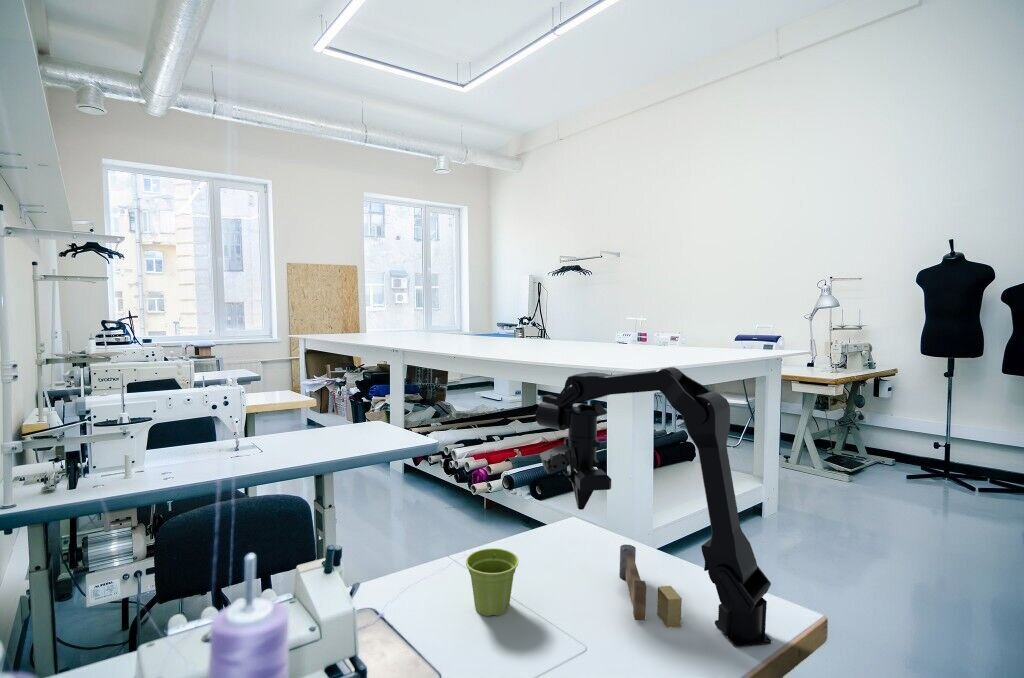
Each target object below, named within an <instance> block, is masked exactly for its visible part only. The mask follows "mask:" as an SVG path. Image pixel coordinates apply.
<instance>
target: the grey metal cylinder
mask: <svg viewBox="0 0 1024 678" xmlns="http://www.w3.org/2000/svg"><path fill="white" fill-rule="evenodd" d="M619 547H620V548H619V579H621V580H622V581H624V580H625V581H626V554H633V557H634V560H635V561H636V558H637V557H636V556H637V555H636V550H637V548H636V547H635V546H634V545H631V544H622V545H620V546H619Z"/></svg>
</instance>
